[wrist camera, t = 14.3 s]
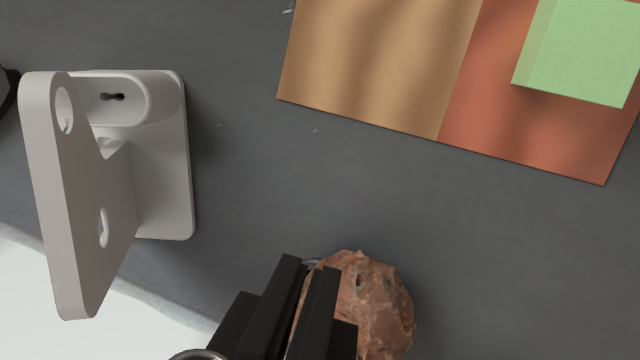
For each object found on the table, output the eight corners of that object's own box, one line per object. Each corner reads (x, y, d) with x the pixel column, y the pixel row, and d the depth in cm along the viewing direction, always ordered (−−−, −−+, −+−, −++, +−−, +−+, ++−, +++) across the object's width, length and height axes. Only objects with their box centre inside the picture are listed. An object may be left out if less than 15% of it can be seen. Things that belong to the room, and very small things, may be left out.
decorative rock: (352, 211, 42) (343, 257, 32) (440, 281, 42) (457, 346, 33) (273, 299, 46) (245, 363, 36) (356, 362, 46) (349, 441, 37)
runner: (706, -35, 32) (708, -35, 32) (602, 185, 38) (603, 186, 38) (323, -124, 34) (323, -125, 34) (276, 98, 40) (276, 98, 39)
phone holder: (84, 65, 41) (-127, 72, 24) (184, 66, 40) (36, 73, 23) (108, 233, 46) (-53, 337, 29) (198, 238, 45) (85, 351, 28)
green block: (629, 15, 34) (665, 9, 29) (593, 102, 36) (622, 109, 32) (540, -5, 34) (563, -13, 30) (509, 83, 36) (527, 86, 32)
